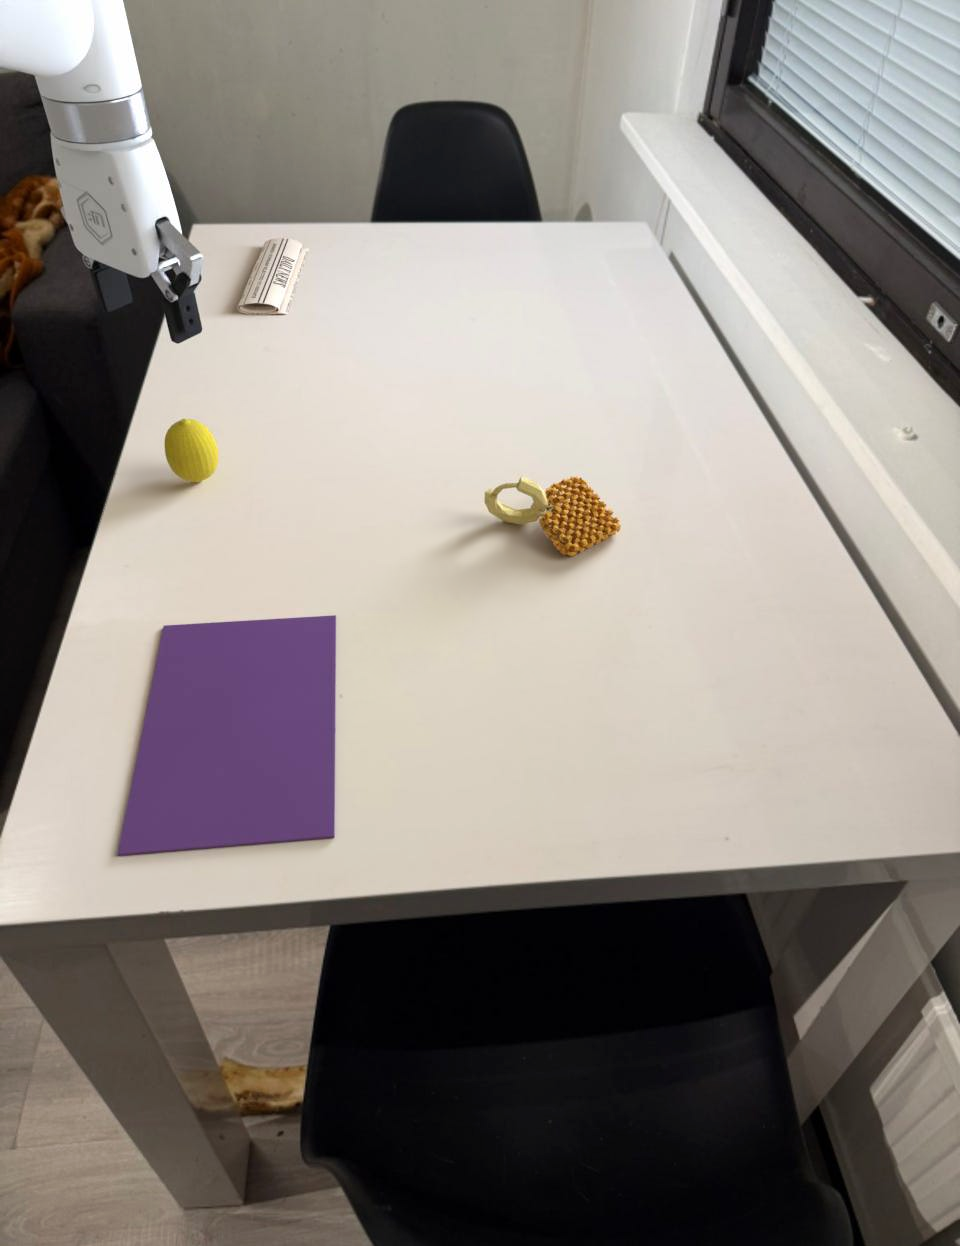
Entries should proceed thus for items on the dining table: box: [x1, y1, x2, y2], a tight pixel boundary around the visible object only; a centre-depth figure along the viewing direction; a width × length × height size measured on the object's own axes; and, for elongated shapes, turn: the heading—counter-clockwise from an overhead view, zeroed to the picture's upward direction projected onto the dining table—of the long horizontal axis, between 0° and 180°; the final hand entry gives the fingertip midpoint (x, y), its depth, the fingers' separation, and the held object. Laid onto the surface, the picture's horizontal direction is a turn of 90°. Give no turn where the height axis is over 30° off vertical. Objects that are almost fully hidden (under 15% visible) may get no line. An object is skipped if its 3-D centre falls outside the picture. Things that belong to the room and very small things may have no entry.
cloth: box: [117, 614, 337, 857], centre depth 74 cm, size 24×16×1 cm, turn 6°
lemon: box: [164, 418, 220, 483], centre depth 95 cm, size 6×6×8 cm
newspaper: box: [236, 237, 310, 316], centre depth 134 cm, size 24×7×2 cm, turn 0°
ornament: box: [483, 476, 622, 557], centre depth 92 cm, size 7×10×15 cm
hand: (151, 321), depth 81 cm, fingers open, 9 cm apart
